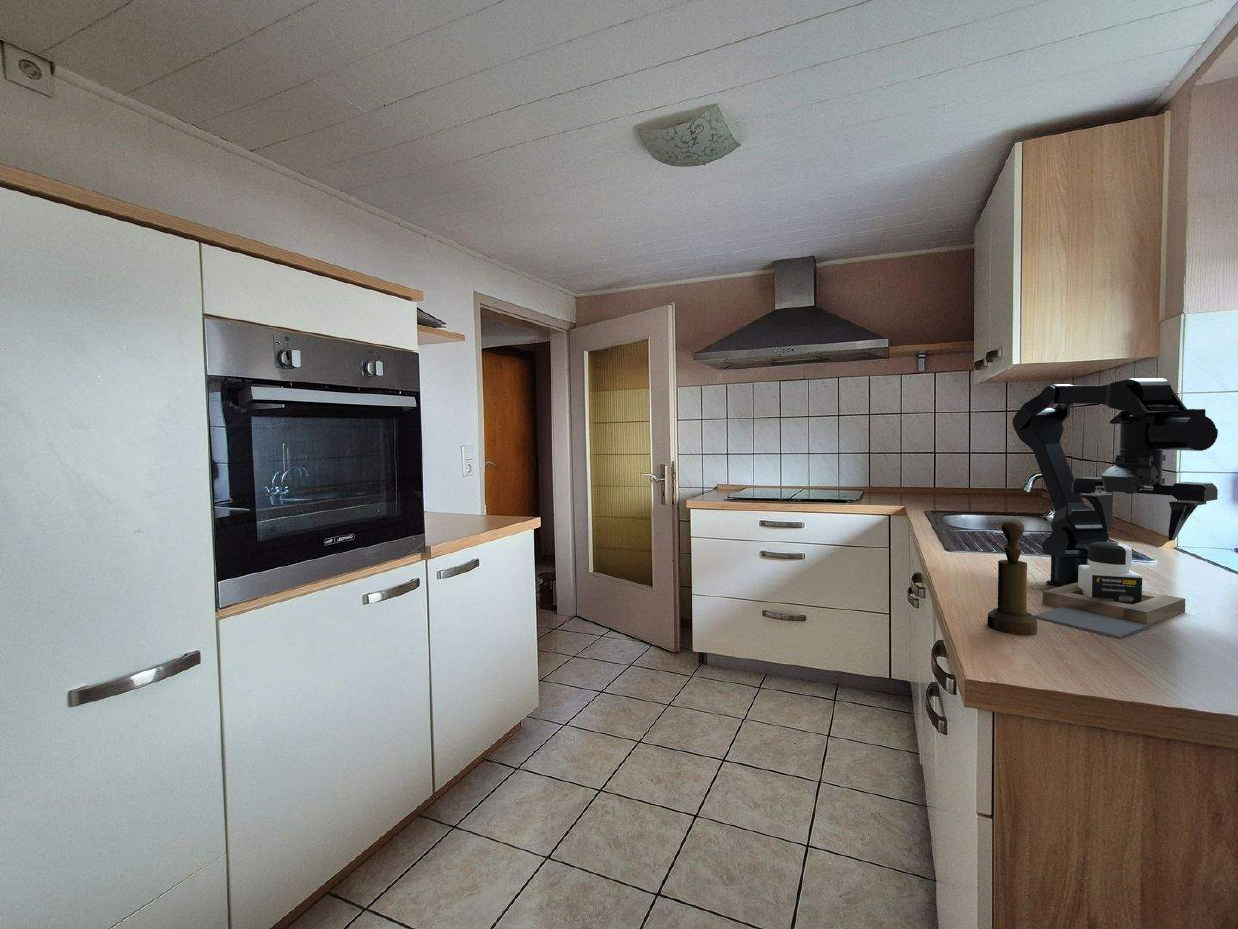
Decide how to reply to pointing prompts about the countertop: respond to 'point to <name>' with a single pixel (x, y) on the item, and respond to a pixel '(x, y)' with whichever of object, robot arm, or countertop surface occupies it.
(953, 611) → the countertop surface
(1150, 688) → the countertop surface
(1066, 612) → the mat
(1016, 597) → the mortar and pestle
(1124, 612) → the brown flat square frame
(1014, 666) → the countertop surface
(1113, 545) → the medicine bottle
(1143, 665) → the countertop surface
